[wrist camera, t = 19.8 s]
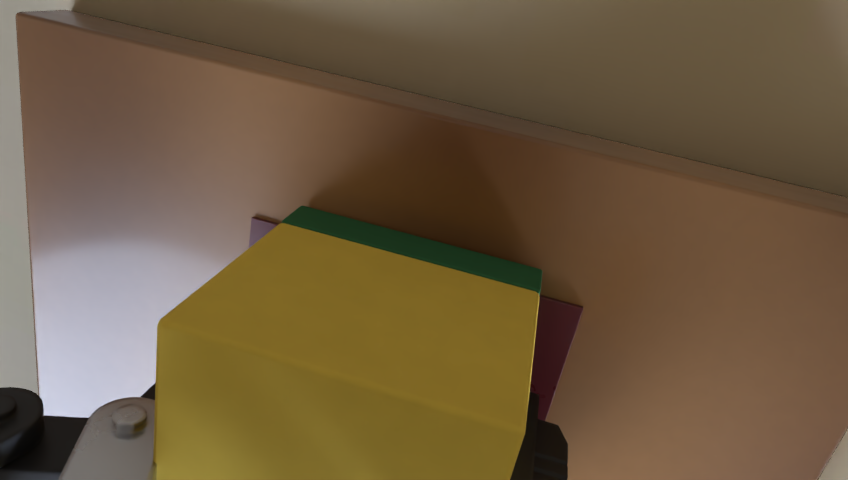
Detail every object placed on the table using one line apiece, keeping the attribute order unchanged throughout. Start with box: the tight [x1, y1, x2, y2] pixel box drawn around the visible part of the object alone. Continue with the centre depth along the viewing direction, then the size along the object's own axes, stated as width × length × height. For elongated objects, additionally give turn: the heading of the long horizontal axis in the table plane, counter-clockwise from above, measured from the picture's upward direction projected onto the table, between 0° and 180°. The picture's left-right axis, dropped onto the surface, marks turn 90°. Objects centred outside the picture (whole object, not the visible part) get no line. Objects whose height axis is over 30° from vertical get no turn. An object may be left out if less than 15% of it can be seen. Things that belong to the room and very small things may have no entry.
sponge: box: [153, 206, 542, 480], centre depth 12 cm, size 8×5×5 cm, turn 169°
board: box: [16, 10, 848, 480], centre depth 15 cm, size 18×12×2 cm, turn 79°
